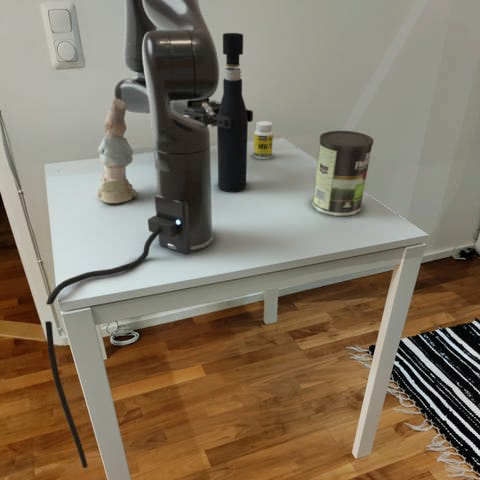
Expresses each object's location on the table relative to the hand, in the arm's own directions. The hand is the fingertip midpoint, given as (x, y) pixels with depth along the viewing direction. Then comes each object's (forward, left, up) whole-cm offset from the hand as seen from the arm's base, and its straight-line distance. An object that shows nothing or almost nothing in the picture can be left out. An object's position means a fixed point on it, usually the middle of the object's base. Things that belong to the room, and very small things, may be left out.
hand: (241, 119), depth 97 cm
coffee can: (+3, -22, -15) cm, 27 cm away
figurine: (-18, +20, -15) cm, 31 cm away
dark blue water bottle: (0, +2, -15) cm, 15 cm away
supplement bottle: (+22, +6, -15) cm, 28 cm away
